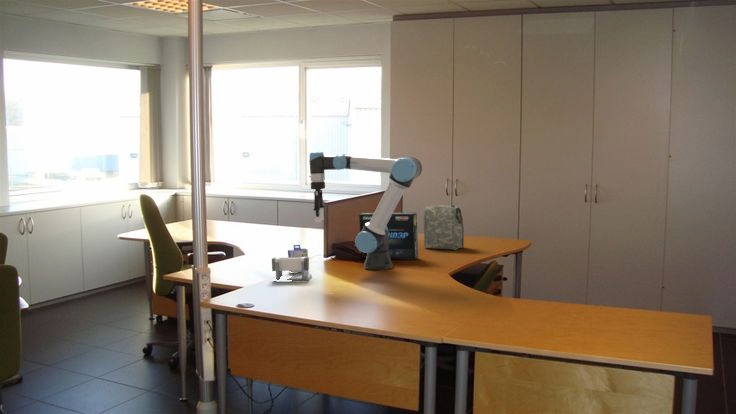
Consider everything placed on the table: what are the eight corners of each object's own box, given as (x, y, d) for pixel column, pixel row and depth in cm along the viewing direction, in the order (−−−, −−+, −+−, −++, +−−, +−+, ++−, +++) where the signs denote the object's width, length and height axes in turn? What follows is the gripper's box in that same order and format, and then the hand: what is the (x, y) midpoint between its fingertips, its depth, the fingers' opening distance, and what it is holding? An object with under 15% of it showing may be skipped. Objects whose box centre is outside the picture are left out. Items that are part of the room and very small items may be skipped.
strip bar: (309, 268, 345) (308, 256, 345) (307, 270, 341) (307, 258, 340) (273, 269, 346) (273, 257, 346) (272, 271, 342) (271, 258, 342)
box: (360, 258, 400) (358, 213, 398) (365, 256, 407) (363, 212, 405) (414, 260, 388) (413, 213, 385) (419, 258, 395) (417, 212, 392)
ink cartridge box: (306, 270, 368) (304, 243, 367) (309, 272, 363) (308, 245, 362) (288, 272, 365) (287, 245, 363) (291, 274, 360) (290, 246, 358)
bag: (465, 247, 430) (464, 203, 427) (454, 250, 416) (453, 206, 414) (433, 245, 442) (432, 203, 439) (422, 249, 428) (420, 205, 426)
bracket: (311, 276, 349) (310, 257, 349) (308, 281, 338) (307, 261, 337) (276, 277, 351) (275, 258, 350) (272, 282, 339) (271, 262, 338)
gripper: (313, 180, 374) (315, 219, 376) (307, 183, 349) (309, 224, 351) (327, 179, 374) (329, 218, 375) (322, 182, 349) (324, 223, 351)
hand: (319, 221), depth 363 cm, fingers open, 13 cm apart
